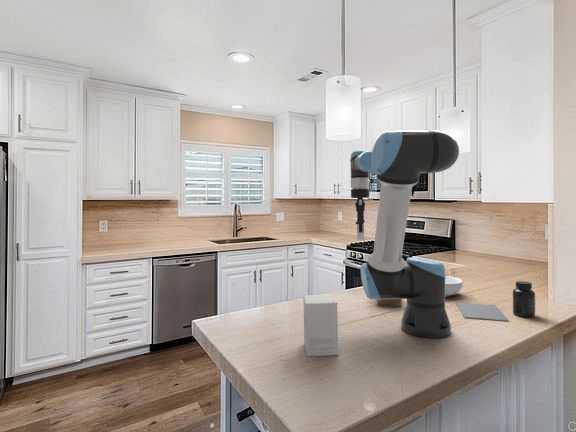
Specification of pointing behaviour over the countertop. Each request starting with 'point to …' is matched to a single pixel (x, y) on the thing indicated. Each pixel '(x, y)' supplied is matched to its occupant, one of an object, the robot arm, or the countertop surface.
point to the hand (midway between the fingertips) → (360, 238)
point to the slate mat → (481, 311)
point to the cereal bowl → (452, 285)
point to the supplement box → (320, 325)
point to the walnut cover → (390, 302)
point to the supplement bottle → (524, 300)
